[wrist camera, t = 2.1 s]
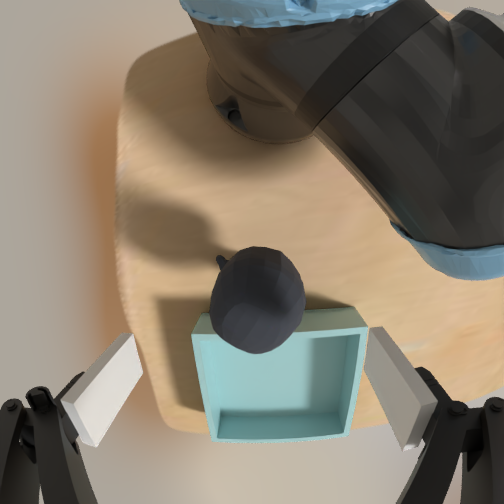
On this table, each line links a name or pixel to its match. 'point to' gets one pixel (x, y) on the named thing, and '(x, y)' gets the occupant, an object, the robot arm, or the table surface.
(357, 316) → the bin
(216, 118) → the table surface
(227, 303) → the toy
